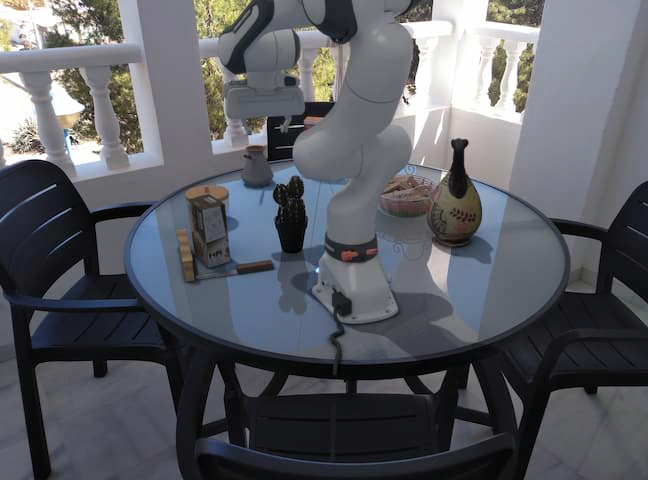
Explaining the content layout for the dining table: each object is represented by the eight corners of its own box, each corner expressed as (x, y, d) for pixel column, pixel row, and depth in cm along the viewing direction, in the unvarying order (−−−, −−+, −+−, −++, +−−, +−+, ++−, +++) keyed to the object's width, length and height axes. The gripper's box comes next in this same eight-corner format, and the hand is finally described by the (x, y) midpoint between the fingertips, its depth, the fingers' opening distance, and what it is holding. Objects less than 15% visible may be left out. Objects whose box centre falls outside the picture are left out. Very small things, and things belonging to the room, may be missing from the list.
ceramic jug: (425, 226, 161) (435, 126, 146) (477, 231, 158) (493, 130, 144) (420, 251, 147) (431, 143, 132) (478, 257, 144) (496, 148, 129)
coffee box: (231, 261, 140) (226, 204, 132) (208, 268, 136) (201, 210, 128) (215, 248, 146) (209, 192, 138) (193, 255, 142) (185, 198, 134)
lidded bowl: (206, 209, 169) (202, 176, 164) (239, 217, 164) (236, 183, 159) (179, 224, 159) (174, 189, 154) (213, 233, 154) (210, 197, 149)
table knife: (273, 268, 137) (272, 263, 136) (196, 280, 131) (195, 274, 130) (271, 264, 138) (270, 259, 138) (195, 276, 133) (194, 270, 132)
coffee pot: (245, 177, 196) (242, 136, 188) (276, 178, 195) (274, 137, 187) (230, 199, 177) (225, 154, 170) (264, 200, 176) (261, 156, 169)
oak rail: (195, 280, 131) (192, 260, 128) (185, 281, 130) (182, 261, 128) (188, 247, 146) (185, 228, 143) (179, 248, 145) (176, 229, 143)
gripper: (223, 82, 128) (228, 140, 134) (306, 78, 134) (307, 133, 141) (219, 78, 133) (224, 133, 140) (299, 74, 139) (300, 127, 146)
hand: (266, 133), depth 140 cm, fingers open, 8 cm apart
